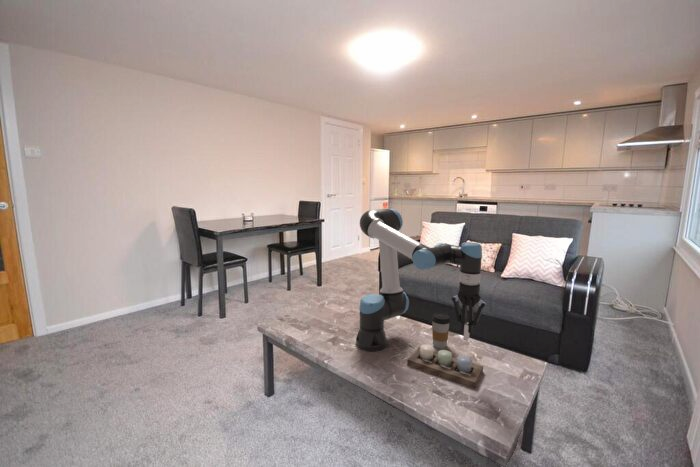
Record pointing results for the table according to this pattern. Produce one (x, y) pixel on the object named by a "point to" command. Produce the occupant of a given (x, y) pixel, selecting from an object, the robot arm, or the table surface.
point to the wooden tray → (446, 369)
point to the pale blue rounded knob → (464, 363)
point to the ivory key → (426, 352)
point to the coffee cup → (440, 329)
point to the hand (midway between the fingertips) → (466, 339)
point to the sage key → (444, 357)
